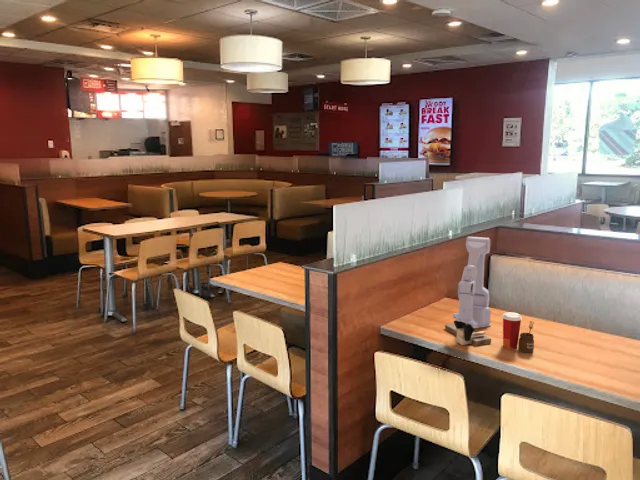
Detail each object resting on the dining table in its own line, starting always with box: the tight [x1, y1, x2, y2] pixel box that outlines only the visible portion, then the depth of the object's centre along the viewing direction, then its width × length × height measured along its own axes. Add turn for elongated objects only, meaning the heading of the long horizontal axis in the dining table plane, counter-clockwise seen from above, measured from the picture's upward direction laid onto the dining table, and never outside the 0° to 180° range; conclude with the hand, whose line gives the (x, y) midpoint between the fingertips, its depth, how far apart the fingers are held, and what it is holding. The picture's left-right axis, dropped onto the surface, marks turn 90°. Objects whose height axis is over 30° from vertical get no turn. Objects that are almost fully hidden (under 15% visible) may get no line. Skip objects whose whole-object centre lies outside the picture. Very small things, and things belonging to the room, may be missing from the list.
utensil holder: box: [517, 320, 535, 354], centre depth 210 cm, size 6×6×12 cm
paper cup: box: [501, 311, 523, 350], centre depth 214 cm, size 8×8×14 cm
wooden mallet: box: [455, 328, 486, 346], centre depth 220 cm, size 13×4×6 cm, turn 111°
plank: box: [444, 323, 492, 346], centre depth 228 cm, size 8×22×2 cm, turn 21°
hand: (464, 338), depth 219 cm, fingers closed on wooden mallet, 4 cm apart
